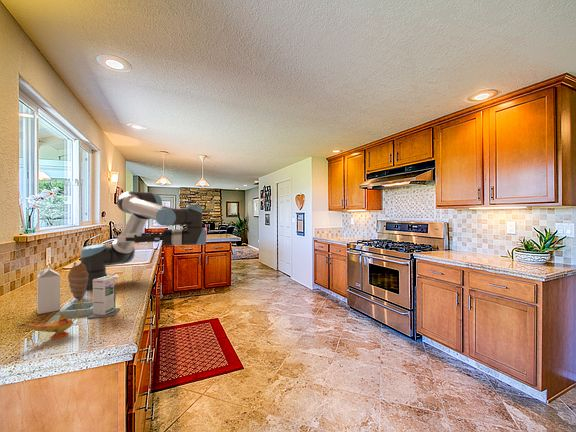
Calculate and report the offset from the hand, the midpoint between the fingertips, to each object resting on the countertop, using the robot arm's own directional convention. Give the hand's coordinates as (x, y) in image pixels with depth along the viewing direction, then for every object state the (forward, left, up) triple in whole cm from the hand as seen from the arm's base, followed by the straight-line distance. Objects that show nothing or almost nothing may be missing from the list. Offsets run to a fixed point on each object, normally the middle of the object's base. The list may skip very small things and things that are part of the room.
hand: (121, 237), depth 124 cm
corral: (+5, -14, -31) cm, 34 cm away
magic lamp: (+30, -13, -31) cm, 45 cm away
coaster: (+10, -4, -31) cm, 33 cm away
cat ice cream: (-15, -22, -31) cm, 41 cm away
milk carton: (-1, -28, -31) cm, 42 cm away
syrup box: (+10, -4, -31) cm, 32 cm away
